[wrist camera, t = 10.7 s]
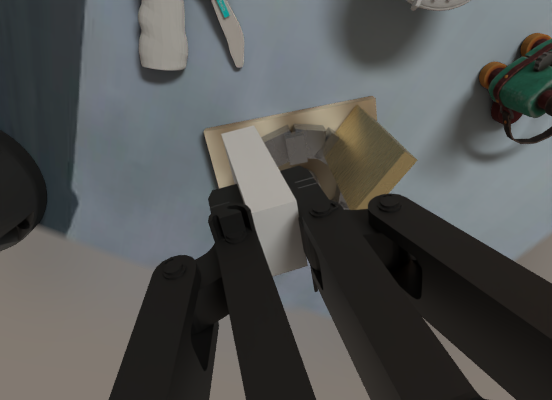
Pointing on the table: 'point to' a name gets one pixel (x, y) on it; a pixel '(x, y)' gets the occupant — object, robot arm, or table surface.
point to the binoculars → (522, 85)
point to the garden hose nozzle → (180, 33)
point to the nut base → (318, 115)
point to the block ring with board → (346, 155)
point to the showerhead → (436, 4)
